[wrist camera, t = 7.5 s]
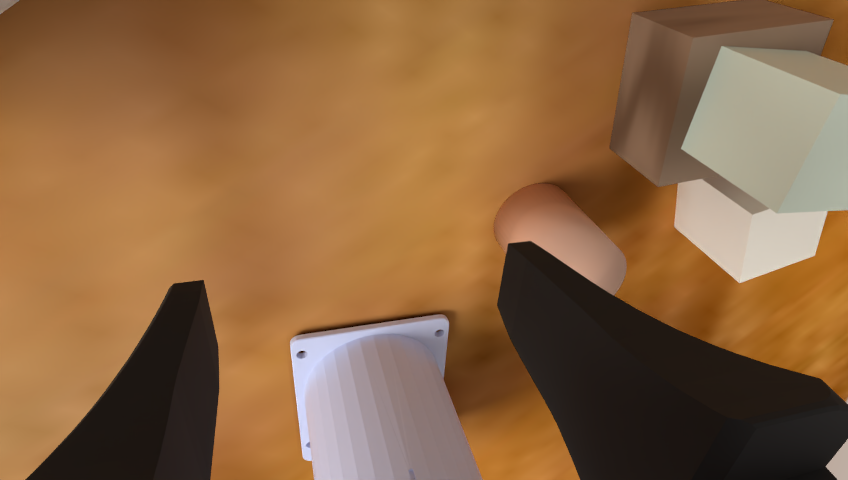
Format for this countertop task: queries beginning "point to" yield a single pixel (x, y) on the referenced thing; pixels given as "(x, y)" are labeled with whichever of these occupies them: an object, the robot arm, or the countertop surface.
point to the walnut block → (691, 74)
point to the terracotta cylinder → (560, 233)
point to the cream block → (743, 228)
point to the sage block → (776, 127)
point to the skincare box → (6, 4)
